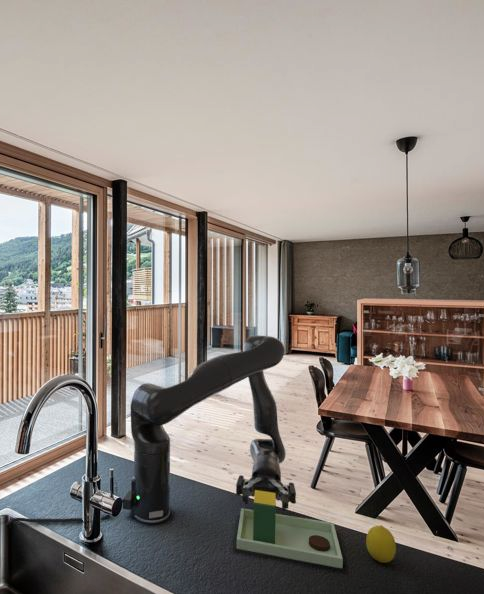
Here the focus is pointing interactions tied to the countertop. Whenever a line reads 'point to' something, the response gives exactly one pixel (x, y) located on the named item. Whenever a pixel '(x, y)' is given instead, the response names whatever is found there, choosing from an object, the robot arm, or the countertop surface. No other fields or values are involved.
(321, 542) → the brown round disc
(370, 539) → the lemon
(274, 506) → the sponge
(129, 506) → the robot arm
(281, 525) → the tray
